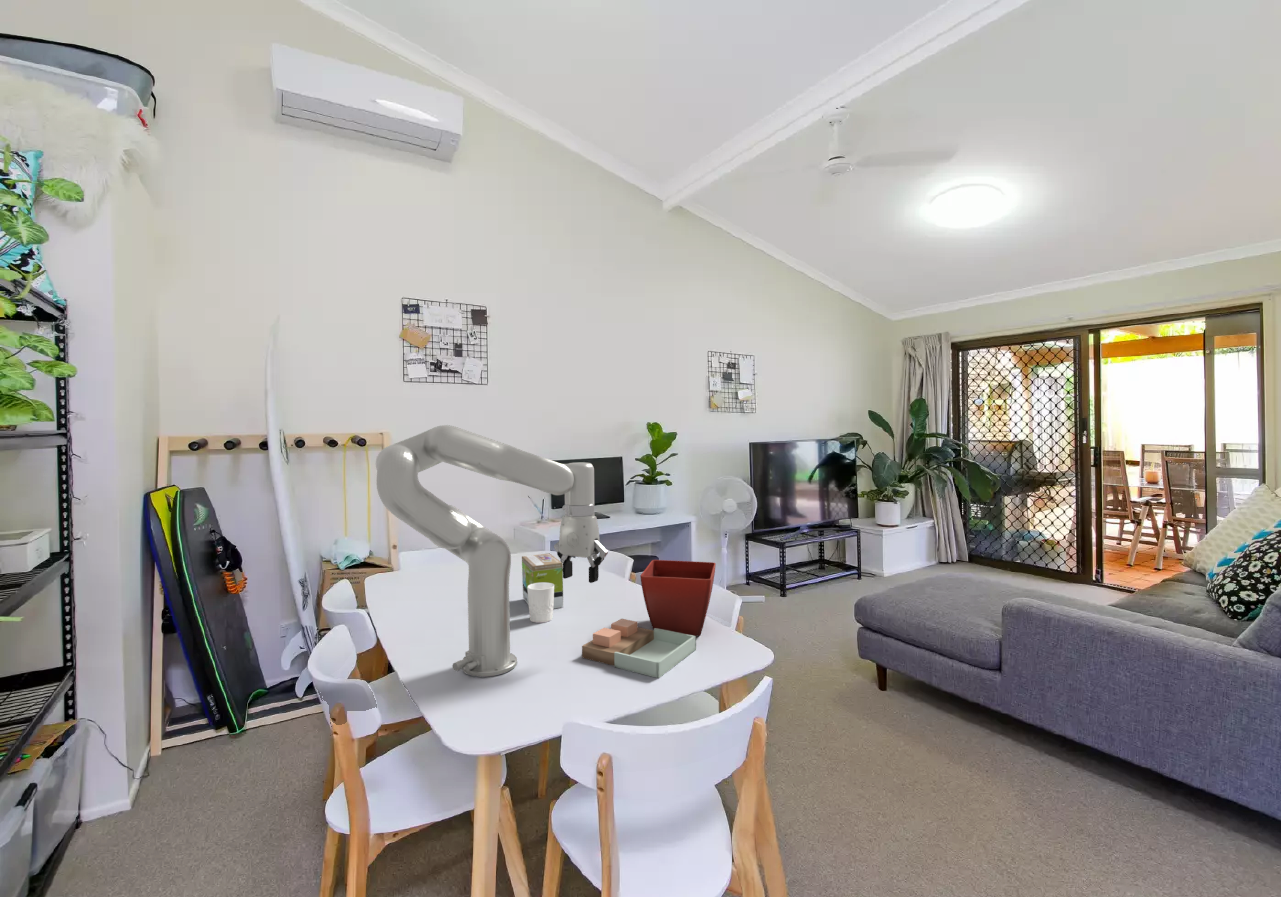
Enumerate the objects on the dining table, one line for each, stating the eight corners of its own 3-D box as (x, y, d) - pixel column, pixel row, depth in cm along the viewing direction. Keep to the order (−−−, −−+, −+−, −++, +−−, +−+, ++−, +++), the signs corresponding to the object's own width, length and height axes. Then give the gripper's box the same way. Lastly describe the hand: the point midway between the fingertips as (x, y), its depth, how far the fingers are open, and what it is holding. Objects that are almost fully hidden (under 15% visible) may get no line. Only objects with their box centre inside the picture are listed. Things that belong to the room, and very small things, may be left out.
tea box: (521, 599, 189) (521, 555, 189) (551, 595, 193) (550, 552, 193) (533, 612, 176) (532, 564, 175) (564, 607, 180) (563, 561, 179)
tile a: (609, 647, 139) (609, 637, 139) (592, 643, 141) (592, 633, 141) (620, 640, 143) (620, 631, 143) (604, 637, 146) (604, 627, 145)
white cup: (522, 621, 167) (521, 587, 167) (539, 613, 174) (538, 581, 174) (543, 625, 164) (543, 590, 163) (560, 617, 171) (559, 584, 170)
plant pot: (711, 642, 150) (710, 578, 149) (640, 637, 153) (639, 575, 153) (716, 618, 168) (716, 562, 168) (652, 615, 172) (652, 559, 172)
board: (615, 666, 135) (615, 653, 135) (582, 657, 140) (581, 645, 140) (653, 641, 150) (653, 630, 150) (622, 635, 155) (622, 624, 155)
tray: (658, 678, 128) (658, 663, 128) (614, 667, 134) (614, 652, 134) (696, 649, 144) (695, 636, 144) (655, 641, 151) (654, 627, 151)
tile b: (627, 637, 146) (627, 627, 145) (611, 633, 148) (611, 624, 148) (637, 631, 150) (637, 621, 150) (621, 627, 152) (621, 618, 152)
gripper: (543, 510, 147) (544, 578, 147) (599, 515, 138) (599, 587, 138) (562, 507, 153) (563, 572, 154) (616, 511, 144) (616, 580, 145)
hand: (580, 579), depth 146 cm, fingers open, 7 cm apart
